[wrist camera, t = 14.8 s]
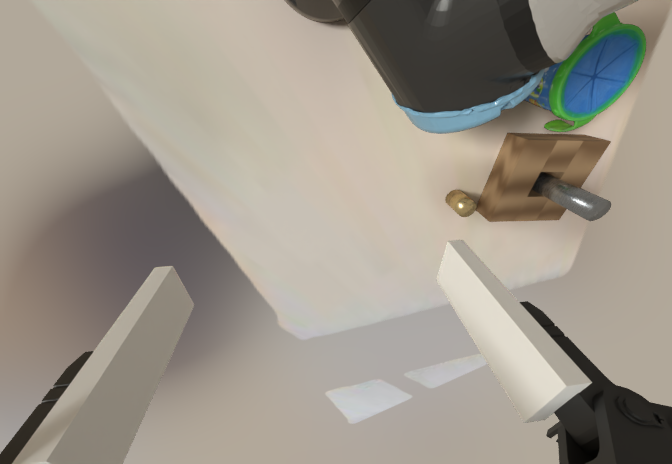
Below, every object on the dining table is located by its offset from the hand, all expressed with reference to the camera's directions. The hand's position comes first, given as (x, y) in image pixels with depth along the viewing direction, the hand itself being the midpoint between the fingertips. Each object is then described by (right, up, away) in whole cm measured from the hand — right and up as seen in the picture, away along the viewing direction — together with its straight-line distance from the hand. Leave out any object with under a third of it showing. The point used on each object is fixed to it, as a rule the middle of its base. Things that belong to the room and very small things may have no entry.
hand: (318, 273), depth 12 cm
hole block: (+40, +14, +38) cm, 56 cm away
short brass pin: (+26, +9, +39) cm, 47 cm away
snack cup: (+34, +28, +27) cm, 52 cm away
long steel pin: (+40, +14, +38) cm, 56 cm away
